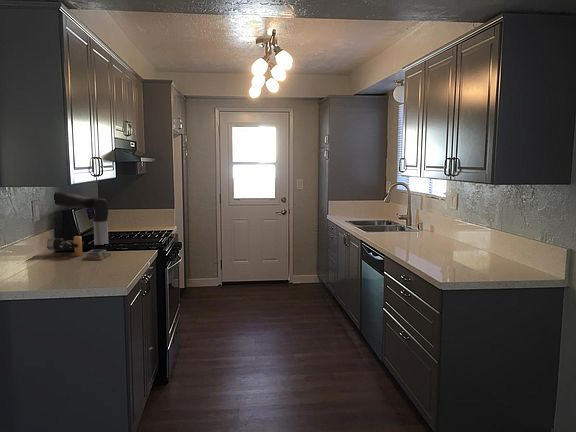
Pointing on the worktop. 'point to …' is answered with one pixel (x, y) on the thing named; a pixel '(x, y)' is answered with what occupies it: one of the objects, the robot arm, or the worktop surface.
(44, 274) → the worktop surface
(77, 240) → the connector
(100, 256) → the junction block
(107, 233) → the robot arm
